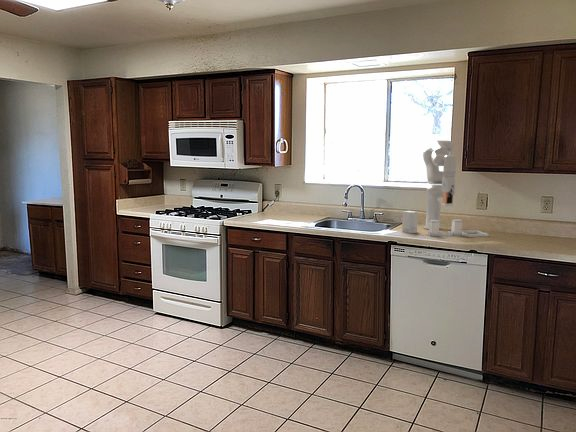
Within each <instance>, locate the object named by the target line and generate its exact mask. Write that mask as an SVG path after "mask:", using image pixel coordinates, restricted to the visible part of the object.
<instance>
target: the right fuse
mask: <svg viewBox="0 0 576 432" xmlns="http://www.w3.org/2000/svg"><path fill="white" fill-rule="evenodd" d="M462 228H463V219H459V218H458V219H451V228H450V229H451V231H453V232H454V233H453V235H454V236H460V235H461V232H462V231H463V229H462ZM451 231H450V232H451Z"/></svg>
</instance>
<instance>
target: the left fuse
mask: <svg viewBox="0 0 576 432" xmlns="http://www.w3.org/2000/svg"><path fill="white" fill-rule="evenodd" d="M428 231H429V232H431V236H439V231H440V230H439V221H438V220H429V229H428Z"/></svg>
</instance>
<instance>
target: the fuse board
mask: <svg viewBox="0 0 576 432" xmlns="http://www.w3.org/2000/svg"><path fill="white" fill-rule="evenodd" d="M453 233H454V232H453V231H449V230H448V231H447V233H443V231H440V230H439V236H431V232H429V230H428V231H427V233H425V234H424V235H425V236H428V237H430V238H447V237H449V238H452V237H453V238H454V237H455V238H456V237H459V238H460V237H465V235H462V232H461V235H460V236H454V235H453Z"/></svg>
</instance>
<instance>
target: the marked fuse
mask: <svg viewBox="0 0 576 432" xmlns="http://www.w3.org/2000/svg"><path fill="white" fill-rule="evenodd" d="M450 192H451V191H450ZM449 194H450V193H449ZM447 197H448V192H443V198H442V201H441V202H442V206H445V207H448V206H450V207H451V206H453V204H454V203H453V202H454V196H453V197H452V203H447Z"/></svg>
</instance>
